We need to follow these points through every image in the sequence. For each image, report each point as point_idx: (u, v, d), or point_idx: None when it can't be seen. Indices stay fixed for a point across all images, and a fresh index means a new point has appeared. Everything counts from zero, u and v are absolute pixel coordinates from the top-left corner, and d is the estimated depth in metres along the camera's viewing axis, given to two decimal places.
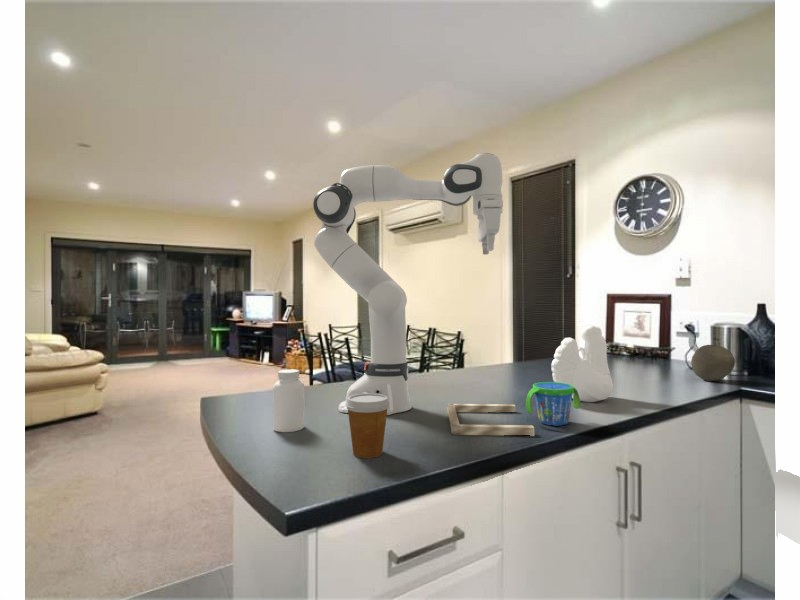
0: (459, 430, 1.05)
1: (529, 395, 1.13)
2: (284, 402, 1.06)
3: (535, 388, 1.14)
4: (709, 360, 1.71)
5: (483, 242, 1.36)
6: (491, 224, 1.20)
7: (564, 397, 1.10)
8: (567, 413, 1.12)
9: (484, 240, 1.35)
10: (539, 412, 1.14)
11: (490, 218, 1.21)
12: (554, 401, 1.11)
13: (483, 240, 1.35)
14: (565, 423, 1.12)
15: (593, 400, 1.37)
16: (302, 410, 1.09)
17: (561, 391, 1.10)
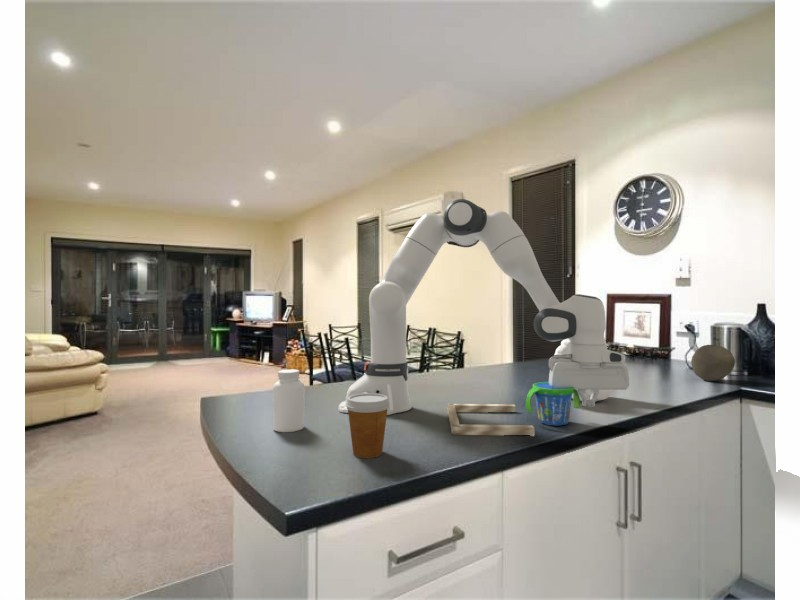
0: (459, 430, 1.05)
1: (529, 395, 1.13)
2: (284, 402, 1.06)
3: (535, 388, 1.14)
4: (709, 360, 1.71)
5: None
6: None
7: (564, 396, 1.10)
8: (567, 413, 1.12)
9: None
10: (539, 412, 1.14)
11: None
12: (554, 401, 1.11)
13: None
14: (565, 423, 1.12)
15: None
16: (302, 410, 1.09)
17: (561, 390, 1.10)
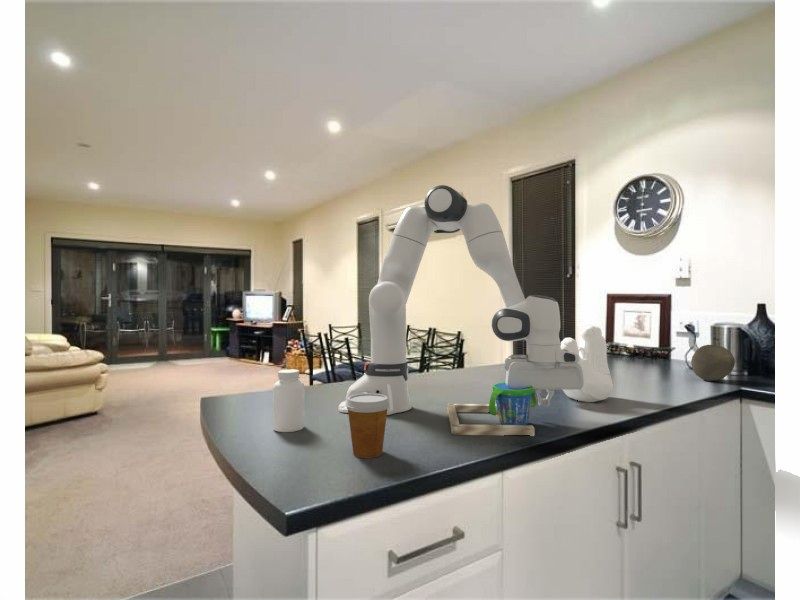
0: (459, 430, 1.05)
1: (493, 397, 1.10)
2: (284, 402, 1.06)
3: (498, 390, 1.11)
4: (709, 360, 1.71)
5: None
6: None
7: (526, 397, 1.10)
8: (528, 413, 1.12)
9: None
10: (501, 414, 1.12)
11: None
12: (517, 402, 1.09)
13: None
14: (526, 423, 1.12)
15: (593, 400, 1.37)
16: (302, 410, 1.09)
17: (524, 391, 1.09)
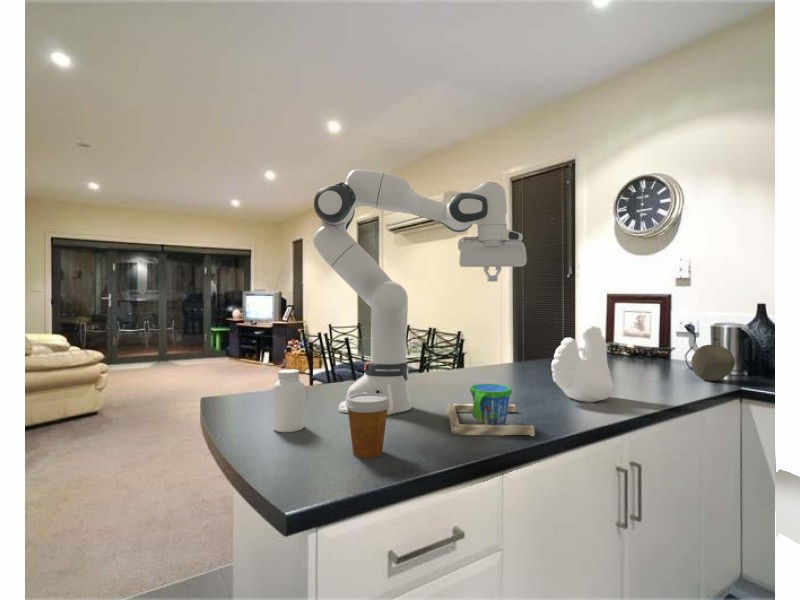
0: (459, 430, 1.05)
1: (477, 400, 1.07)
2: (284, 402, 1.06)
3: (480, 392, 1.08)
4: (709, 360, 1.71)
5: None
6: None
7: (507, 398, 1.09)
8: (506, 414, 1.11)
9: None
10: (482, 417, 1.10)
11: None
12: (500, 403, 1.08)
13: None
14: (504, 424, 1.11)
15: (593, 400, 1.37)
16: (302, 410, 1.09)
17: (506, 392, 1.08)
